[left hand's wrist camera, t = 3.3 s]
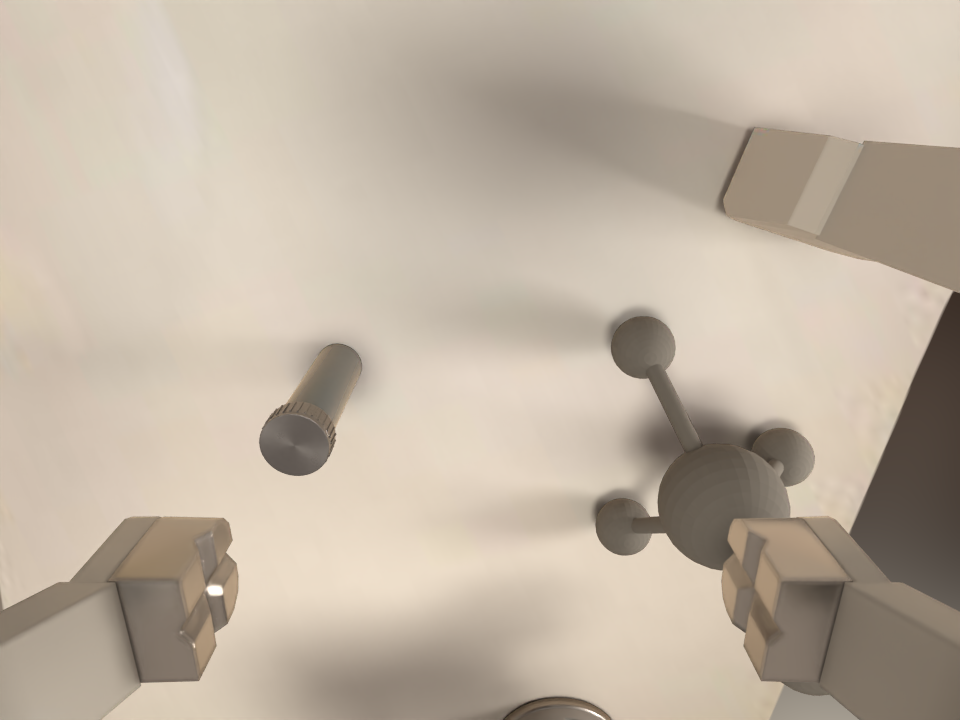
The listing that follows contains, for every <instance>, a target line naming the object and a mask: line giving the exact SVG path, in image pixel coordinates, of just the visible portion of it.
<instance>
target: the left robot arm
mask: <svg viewBox="0 0 960 720" xmlns="http://www.w3.org/2000/svg"><path fill="white" fill-rule="evenodd" d="M232 541H233V540H232V535H231V530H230V525H229V522H227V521H226V520H225V519H224V518H203V517H130V518H127V519H125V520H124V521H123V522H122V523H121V524H120V525H119V526H118V527H117V528H116V530H115V531H114V532H113V533H112V534H111V535H110V536H109V537H108V539H107V540H106V541H105V542H104V543H103V544H102V545H101V547H100V548H99V549H98V550H97V551H96V552H95V553H94V554H93V556H92V557H91V558H90V559H89V560H88V561H87V562H86V563H85V565H84V566H83V567H82V568H81V569H80V570H79V571H78V573H77V574H76V575H75V576H74V577H73V578H72V579H71V580H70V582H58V583H56V584H54V585H52V586H50V587H48V588H46V589H44V590H42V591H41V592H39V593H37V594H35V595H33V596H31V597H29V598H27V599H25V600H23V601H21V602H19V603H17V604H15V605H13V606H11V607H9V608H7V609H5V610H3V611H1V612H0V720H101V719H102V718H103V717H105V716H106V715H107V714H108V713H109V712H110V711H112V710H113V709H114V708H115V707H116V706H118V705H119V704H120V703H121V702H122V701H124V700H125V699H126V698H127V697H128V696H129V695H131V694H132V693H133V692H134V691H135V690H137V689H138V688H139V687H140V686H141V683H148V682H182V681H199V680H200V678H201V676H202V674H203V672H204V670H205V668H206V666H207V664H208V662H209V660H210V658H211V656H212V654H213V652H214V650H215V648H216V640H215V634H214V633H215V632H217V631H218V630H219V629H221V628H222V627H224V626H225V625H226V624H228V622H229V619H230V617H231V615H232V613H233V611H234V608H235V603H236V599H237V594H238V570H237V564H236V562H235V561H234V560H233V559H232V558H231V557H230V556H229V555H228V554H227V553H226V551H227V549H228V548H229V546H230V544H231V542H232ZM727 541H728V542H729V544H730V546H731V548H732V549H733V551H734V553H733V554H732V555H731V556H730V557H729V558H728V559H727V560H726V561H725V562H724V564H723V572H722V580H721V583H722V594H723V600H724V604H725V607H726V611H727V613H728V615H729V617H730V619H731V622H732V624H734V625H735V626H736V627H738V628H739V629H741V630H742V631H743V632H745V633H746V634H745V640H744V648H745V650H746V652H747V654H748V656H749V658H750V660H751V662H752V664H753V666H754V668H755V670H756V672H757V674H758V676H759V678H760V680H761V681H777V682H812V683H819V686H820V687H821V688H823V689H824V690H825V691H826V692H827V693H829V694H830V695H831V696H832V697H833V698H835V699H836V700H837V701H838V702H839V703H840V704H842V705H843V706H844V707H845V708H846V709H847V710H849V711H850V712H851V713H852V714H853V715H855V716H856V717H857V718H858V719H859V720H960V612H959V611H957V610H955V609H953V608H951V607H949V606H947V605H945V604H943V603H941V602H939V601H937V600H935V599H933V598H931V597H929V596H927V595H925V594H923V593H921V592H919V591H917V590H915V589H913V588H911V587H910V586H908V585H906V584H904V583H902V582H890V580H889V579H888V578H887V577H886V576H885V575H884V574H883V573H882V571H881V570H880V569H879V568H878V567H877V566H876V565H875V564H874V562H873V561H872V560H871V559H870V558H869V557H868V556H867V554H866V553H865V552H864V551H863V550H862V549H861V548H860V547H859V545H858V544H857V543H856V542H855V541H854V540H853V539H852V537H851V536H850V535H849V534H848V533H847V532H846V531H845V530H844V528H843V527H842V526H841V525H840V524H839V523H838V522H837V521H836V520H835V519H833V518H831V517H829V516H816V517H796V518H750V519H734V520H733V522H732V524H731V526H730V529H729V534H728V540H727Z"/></svg>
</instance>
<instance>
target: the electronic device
mask: <svg viewBox="0 0 960 720" xmlns="http://www.w3.org/2000/svg"><path fill="white" fill-rule="evenodd" d="M723 203H724V207H725V212H726V216H728V217H730V218H732V219H734V220H736V221H739V222H742V223H745V224H748V225H751V226H754V227H757V228H760V229H764V230H767V231H770V232H773V233H776V234H779V235H782V236H785V237H788V238H791V239H794V240H797V241H800V242H803V243H806V244H809V245H812V246H815V247H818V248H821V249H824V250H827V251H831V252H834V253H838V254H842V255H845V256H849V257H853V258H857V259H862V260H868V261H875V262H879V263H881V264H884V265H887V266H889V267H892V268H895V269H897V270H900V271H903V272H905V273H908V274H911V275H913V276H916V277H919V278H921V279H924V280H927V281H929V282H932V283H935V284H937V285H940V286H943V287H945V288H948V289H951V290H953V291H956V292H959V293H960V148H954V147H940V146H927V145H913V144H900V143H886V142H873V141H864V142H863V144H860V143H857V142H853V141H849V140H845V139H841V138H837V137H833V136H828V135H819V134H810V133H801V132H792V131H783V130H774V129H765V128H754V130H753V132H752V134H751V137H750V139H749V141H748V144H747V146H746V148H745V151H744V153H743V155H742V157H741V160H740V162H739V164H738V167H737V169H736V171H735V173H734V176H733V178H732V180H731V183H730V185H729V187H728V190H727V192H726V194H725V196H724V199H723Z"/></svg>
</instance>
